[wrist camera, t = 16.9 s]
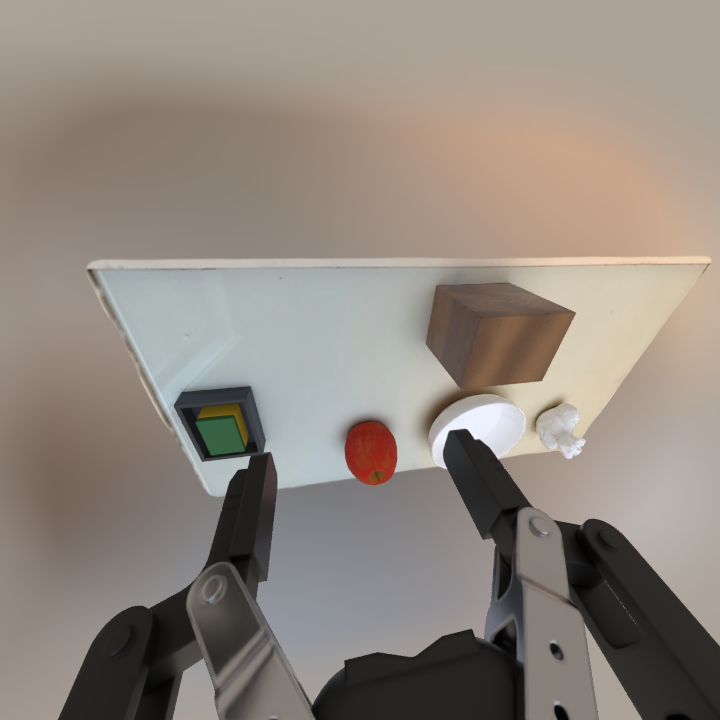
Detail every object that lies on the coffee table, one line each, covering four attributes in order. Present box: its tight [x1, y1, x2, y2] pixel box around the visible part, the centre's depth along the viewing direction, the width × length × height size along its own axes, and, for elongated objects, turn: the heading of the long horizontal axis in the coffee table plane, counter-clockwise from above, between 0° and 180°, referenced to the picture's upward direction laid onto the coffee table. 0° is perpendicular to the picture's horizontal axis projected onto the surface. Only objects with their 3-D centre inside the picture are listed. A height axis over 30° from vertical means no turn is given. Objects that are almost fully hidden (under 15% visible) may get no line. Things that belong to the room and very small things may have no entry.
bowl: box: [428, 394, 526, 469], centre depth 53 cm, size 20×20×6 cm
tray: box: [174, 387, 266, 462], centre depth 44 cm, size 13×10×3 cm
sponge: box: [196, 403, 249, 455], centre depth 43 cm, size 8×6×4 cm
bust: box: [536, 403, 585, 459], centre depth 56 cm, size 12×8×11 cm
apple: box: [345, 422, 397, 485], centre depth 49 cm, size 10×10×10 cm
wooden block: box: [426, 283, 576, 389], centre depth 36 cm, size 12×10×12 cm
